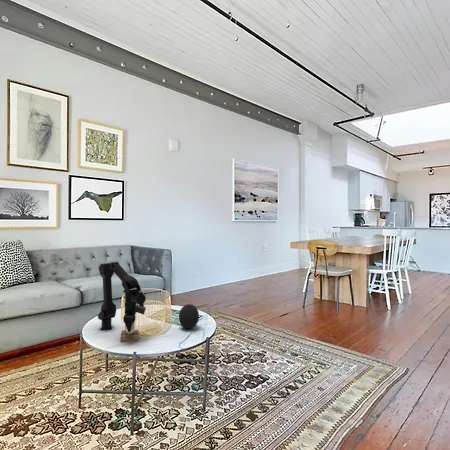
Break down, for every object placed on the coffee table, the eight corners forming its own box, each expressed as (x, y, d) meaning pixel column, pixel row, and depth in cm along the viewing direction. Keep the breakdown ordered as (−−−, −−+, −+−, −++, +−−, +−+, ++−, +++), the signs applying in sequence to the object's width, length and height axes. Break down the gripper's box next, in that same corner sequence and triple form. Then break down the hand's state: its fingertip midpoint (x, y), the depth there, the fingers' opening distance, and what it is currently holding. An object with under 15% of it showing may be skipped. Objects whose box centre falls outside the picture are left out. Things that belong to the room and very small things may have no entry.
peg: (125, 337, 184) (125, 321, 184) (134, 336, 185) (134, 320, 185) (124, 340, 179) (124, 324, 179) (134, 339, 181) (134, 323, 180)
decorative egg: (200, 325, 206) (200, 302, 205) (196, 332, 193) (197, 307, 193) (181, 324, 207) (181, 301, 206) (176, 331, 195) (176, 306, 194)
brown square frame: (121, 335, 186) (121, 330, 186) (138, 334, 188) (138, 329, 188) (120, 342, 177) (120, 336, 177) (138, 341, 179) (138, 335, 179)
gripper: (145, 305, 174) (144, 333, 175) (145, 296, 193) (144, 322, 193) (123, 306, 172) (123, 335, 172) (125, 297, 190) (125, 323, 190)
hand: (129, 328), depth 182 cm, fingers open, 9 cm apart
